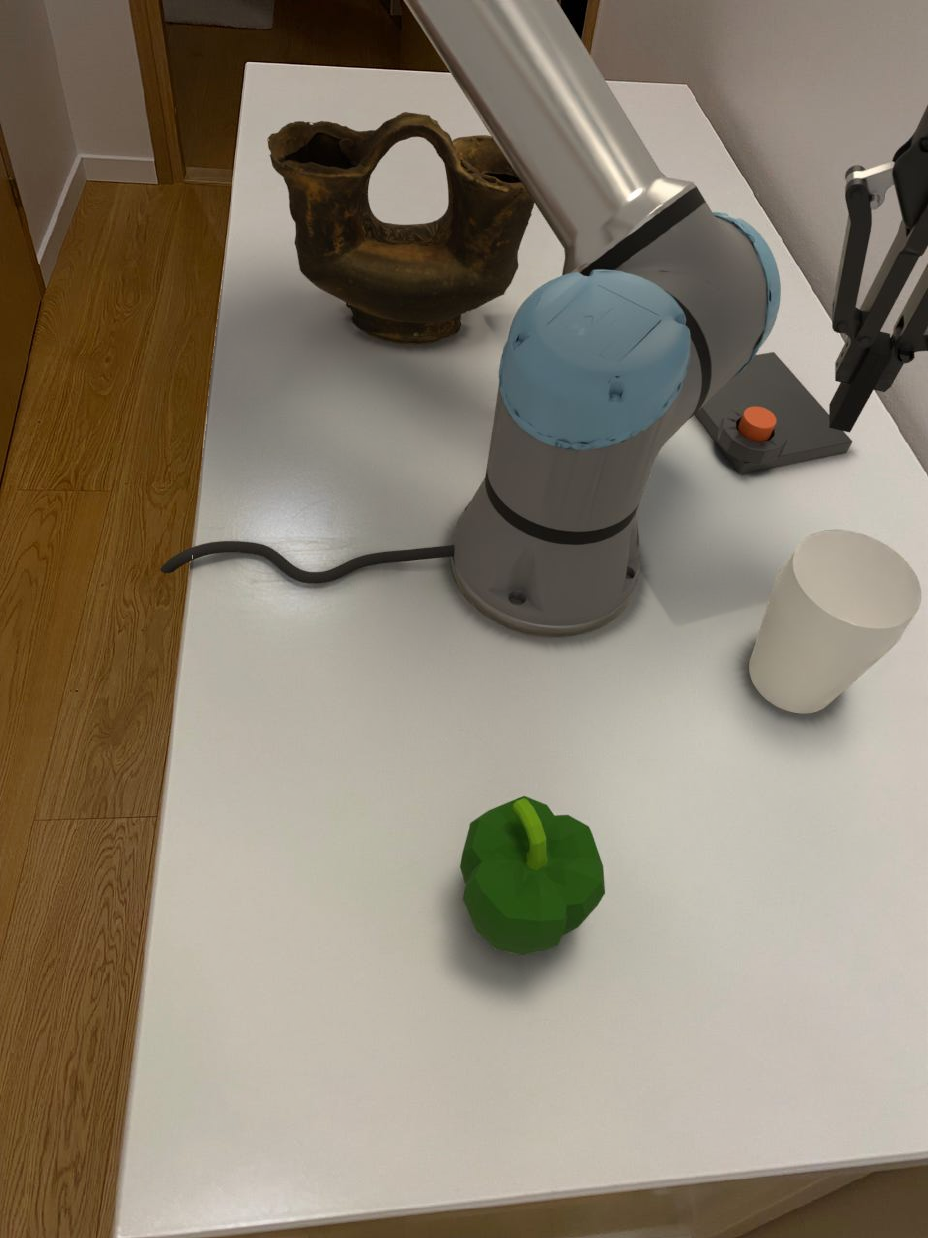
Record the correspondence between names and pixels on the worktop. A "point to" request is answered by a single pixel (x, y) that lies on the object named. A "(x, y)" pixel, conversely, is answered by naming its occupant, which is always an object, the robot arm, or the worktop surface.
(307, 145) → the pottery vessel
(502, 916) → the bell pepper
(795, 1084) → the worktop surface
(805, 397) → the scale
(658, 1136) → the worktop surface
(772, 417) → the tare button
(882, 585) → the cup
